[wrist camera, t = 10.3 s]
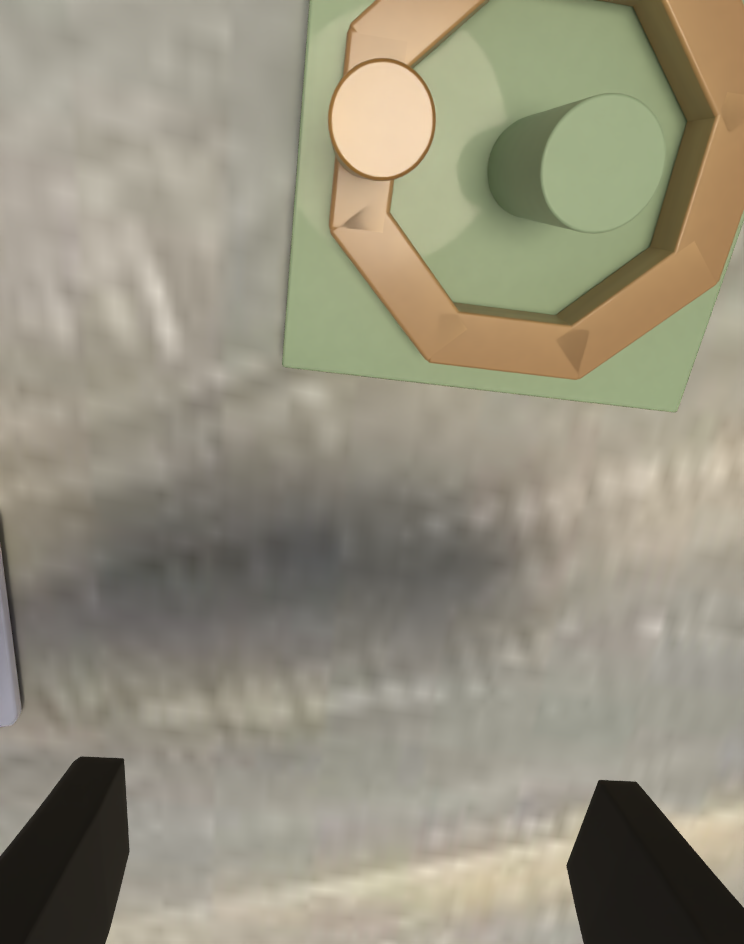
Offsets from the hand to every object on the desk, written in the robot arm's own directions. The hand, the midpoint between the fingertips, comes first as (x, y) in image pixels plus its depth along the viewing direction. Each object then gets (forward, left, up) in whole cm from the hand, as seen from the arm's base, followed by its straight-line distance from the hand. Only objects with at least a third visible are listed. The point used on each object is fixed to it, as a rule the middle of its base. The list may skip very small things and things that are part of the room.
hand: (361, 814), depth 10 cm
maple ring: (+3, +10, -8) cm, 13 cm away
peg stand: (+3, +10, -10) cm, 14 cm away
